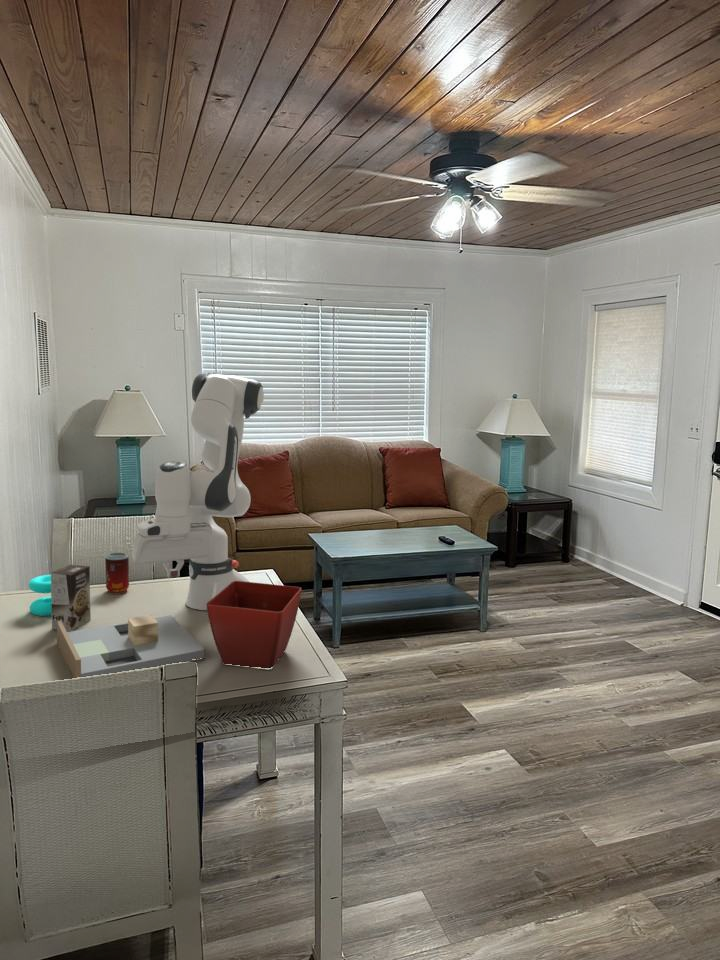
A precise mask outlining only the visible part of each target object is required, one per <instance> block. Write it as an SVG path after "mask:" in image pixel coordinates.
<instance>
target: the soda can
mask: <svg viewBox="0 0 720 960" xmlns="http://www.w3.org/2000/svg"><path fill="white" fill-rule="evenodd" d="M129 560H130V557H129V555H128V554H127V553H125V552H113V553H109V554H107V555H106V556H105V562H104V563H105V564H104V565H105V588H106V590H107V591H108V593H109V594H110V593H111V595H121V594H120V593H122V594H125V593H126V591H128V589H129V587H130V567H129V566H130V561H129ZM124 592H125V593H124Z"/></svg>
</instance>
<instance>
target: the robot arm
mask: <svg viewBox="0 0 720 960" xmlns="http://www.w3.org/2000/svg"><path fill="white" fill-rule="evenodd" d="M192 382H193V383H192V385H191V397H192V400H193V401H194V405H193V408H192V411H191V417H190V421H191V425H192V427H193V429H194V431H195V432H196V433H197V434H198V435H199V437H201V438H202V439H204V443H203V447H202V451H201V461H202V463H203V464H204V465H205V467H206V468H208V469H209V470H211V471H212V472H204V471H201V472H200V471H193V470H191V469H190V468H189V464H188V463H186V462H183V461H179V460H174V461H166V462H164V463H162V464H160V465H159V466H158V468H157V470H156V471H157V473H156V479H155V492H154V493H155V495H154V496H155V501H156V509H155V512H154V513H155V514H154V515H155V516H154V517H153V518H150V519H148V520H144V521H142V522H139V523H138V524H136V531H137V534H136V535H135V537H134V538H133V541H132V542H133V543H132V551H131V552H132V553H131V554H132V555H131V557H132V560H133V562H134V563H136V565H147V564H158V563H161V564H162V566H163V567H164V569H165V570H166V578H168V579H169V578H176V577H180V576H181V575H180V572H181V569H182V568H183V566H184V564H185V560H189V564H188V569H189V571H188V572H189V574H188V575H189V578H190V579H189V588H188V592H187V597H186V600H185V605H186V606H187V607H188V608H191V609H194V610H198V611H199V610H200V611H207V603H208V602H209V601H210V600H211V599H212V598H214V597H215V596H216V595H217V594H218V593H220V592H221V591H222V590H223V589H224V588H226V587H227V586H228V585H229V584H230V583H231V582H233V581H244V582H250V581H249V579H248V578H247V577H246V576H244V575H242V574H241V573H240V572H239V571H237V570H235V569H234V568H238V567H239V566H240V564H239V561H237V560H236V559H232V558H230V557H229V556H228V553H229V552H228V545H229V543H228V542H229V541H228V539H229V538H228V535H227V532H226V531H225V530H224V528H222V527H221V526H219V525H217V523H216V521H215V520H214V518H213V517H219V518H220V517H221V518H234V517H242V516H243V515H245V514H246V513H247V511H248V510H249V509H250V505H251V498H252V497H251V493H250V490H249V488H248V487H247V486H246V485H245V484H244V483H243V482H242V480H241V477H240V476H239V473H238V472H239V471H238V461H239V456H240V450H241V446H242V442H243V435H244V428H245V419H246V420H247V419H250V417H251V416H253V415H255V414H257V412H258V411H259V410H260V409H261V407H262V405H263V403H264V399H265V395H264V394H265V393H264V387H263V385H262V382H260V381H258V380H256V379H253V378H247V377H242V376H238V375H232V374H229V375H228V374H215V373H214V374H213V373H209V372H204V373H203V372H202V373H200V374H198V375H197V376H195V378H194V379H193V381H192ZM173 561H175V562H176V563H177V564H176V566H175V567H174V568H170V567H169V566H170V565H171V562H173Z"/></svg>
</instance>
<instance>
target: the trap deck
mask: <svg viewBox="0 0 720 960" xmlns="http://www.w3.org/2000/svg"><path fill="white" fill-rule="evenodd" d="M154 619H155V620H156V621H157V622H158V641H156V642H150V643H145V644H139V645H134V644H133V643H132V642H131V640H130V639H129V637H128V621H125V622H120V623H115V624H114V623H113V624H108V625H103V626H102V625H101V626H95V627H91V628H84V629H83V628H82V629H78V630H77V629H76V630H73V631H66V629H65V627H64V625H63V624H62V622H61V620H60V621H57V629H56V638H57V639H56V640H57V641H56V643H57V645H58V647H59V650H60V651H61V654H62V656H63V658H64V661H65V662H67V663H66V664H68V665H67V667H68V669H69V668H70V669H69V671H70V670H71V671H70V673H71V676H72V675H73V676H72V677H73V679H74V678H77V677H86V676H93V675H101V674H109V673H117V672H122V671H129V670H135V669H142V668H150V667H157V666H161V665H166V664H172V663H179V662H187V661H192V662H196V661H195V660H192V659H196V660H197V659H200V658H204V659H205V649H204V648H203V647H202V646H201V645H200V643H198V642H197V641H196V640H195V639H194V637H192V635H191V634H190V633H189V632H188V631H187V629H185V628H184V627H183V625H181V624H180V622H179V621H177V620H176V618H175V617H174V616H173V615H171V614H169V615H164V616H157V617H154ZM197 661H198V660H197ZM187 663H188V662H187Z"/></svg>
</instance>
